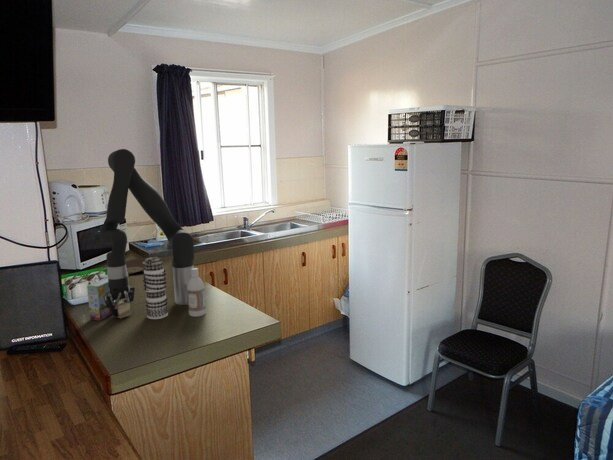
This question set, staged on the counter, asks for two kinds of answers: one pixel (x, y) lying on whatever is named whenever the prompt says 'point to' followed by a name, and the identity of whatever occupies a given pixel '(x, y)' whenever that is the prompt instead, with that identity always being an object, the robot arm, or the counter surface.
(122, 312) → the maple block
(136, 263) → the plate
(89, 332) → the counter surface
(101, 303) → the snack box
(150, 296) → the decorative candle
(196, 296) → the bath foam
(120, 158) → the robot arm
